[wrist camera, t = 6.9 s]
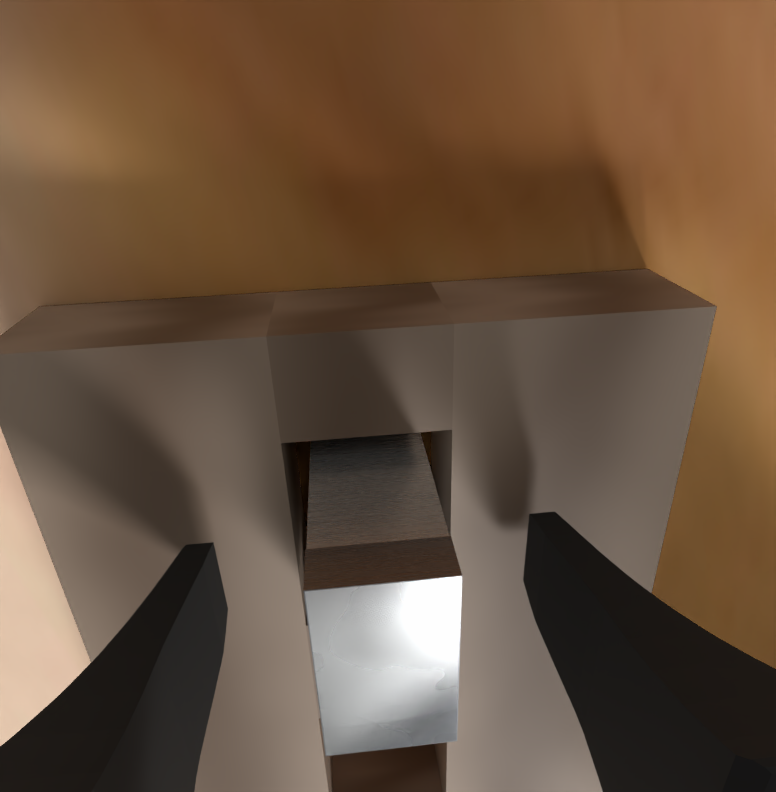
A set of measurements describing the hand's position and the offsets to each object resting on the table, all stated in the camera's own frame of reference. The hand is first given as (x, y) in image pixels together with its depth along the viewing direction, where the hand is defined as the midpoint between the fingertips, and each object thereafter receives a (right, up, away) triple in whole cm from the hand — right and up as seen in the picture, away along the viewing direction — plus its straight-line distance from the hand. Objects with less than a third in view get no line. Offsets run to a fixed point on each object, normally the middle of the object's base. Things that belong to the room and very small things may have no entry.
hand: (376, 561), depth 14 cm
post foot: (0, -2, +6) cm, 6 cm away
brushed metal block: (0, +2, +3) cm, 4 cm away
